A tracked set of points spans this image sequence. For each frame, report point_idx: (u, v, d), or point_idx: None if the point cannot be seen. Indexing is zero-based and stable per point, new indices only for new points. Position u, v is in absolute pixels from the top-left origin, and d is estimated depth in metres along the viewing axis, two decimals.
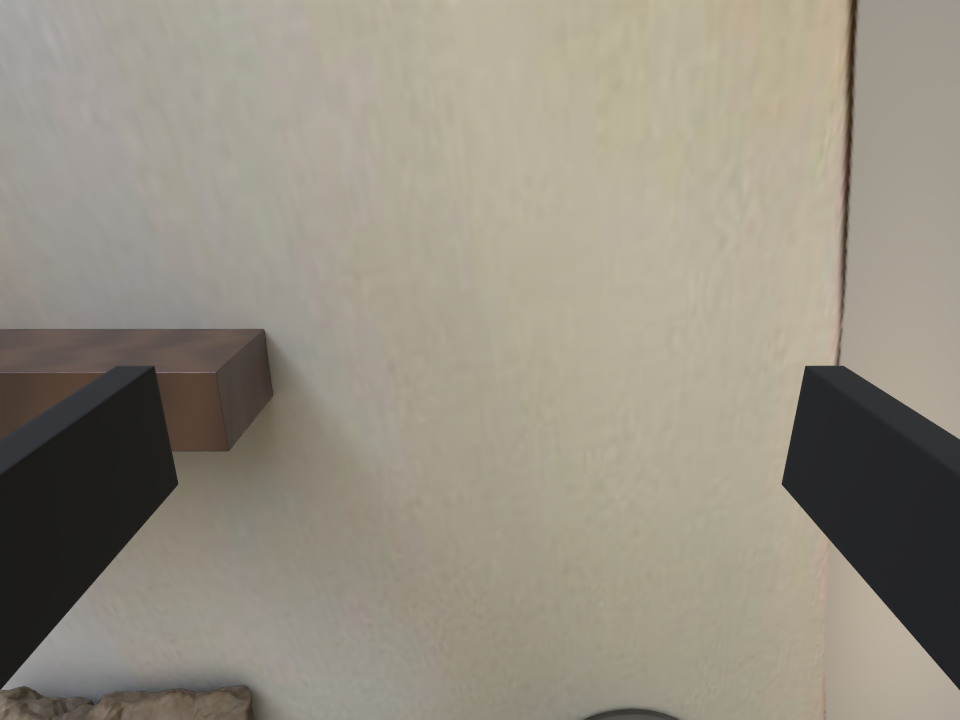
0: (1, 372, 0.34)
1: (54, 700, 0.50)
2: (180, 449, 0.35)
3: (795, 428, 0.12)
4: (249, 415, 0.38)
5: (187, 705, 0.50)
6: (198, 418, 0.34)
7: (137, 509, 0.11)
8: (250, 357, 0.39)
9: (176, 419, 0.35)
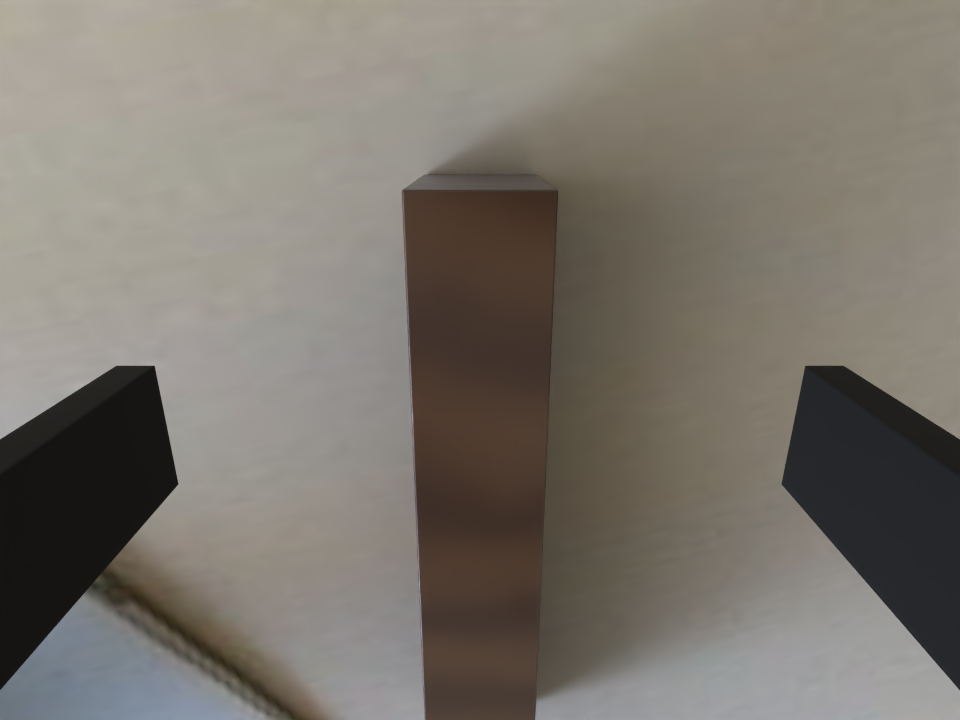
0: (416, 508, 0.23)
1: None
2: (550, 277, 0.20)
3: (795, 428, 0.12)
4: (530, 181, 0.23)
5: None
6: (491, 235, 0.20)
7: (137, 510, 0.11)
8: (441, 179, 0.24)
9: (491, 273, 0.20)
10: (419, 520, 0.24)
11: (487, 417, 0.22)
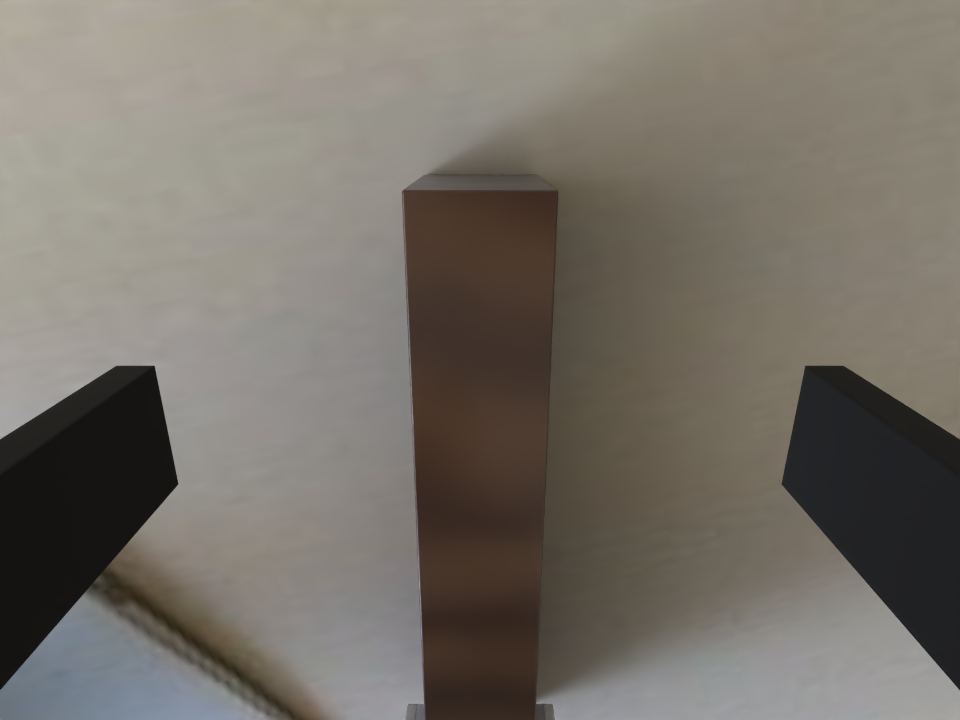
0: (416, 509, 0.23)
1: None
2: (550, 277, 0.20)
3: (795, 428, 0.12)
4: (530, 182, 0.23)
5: None
6: (491, 235, 0.20)
7: (137, 510, 0.11)
8: (441, 179, 0.24)
9: (492, 273, 0.20)
10: (419, 520, 0.24)
11: (487, 418, 0.22)
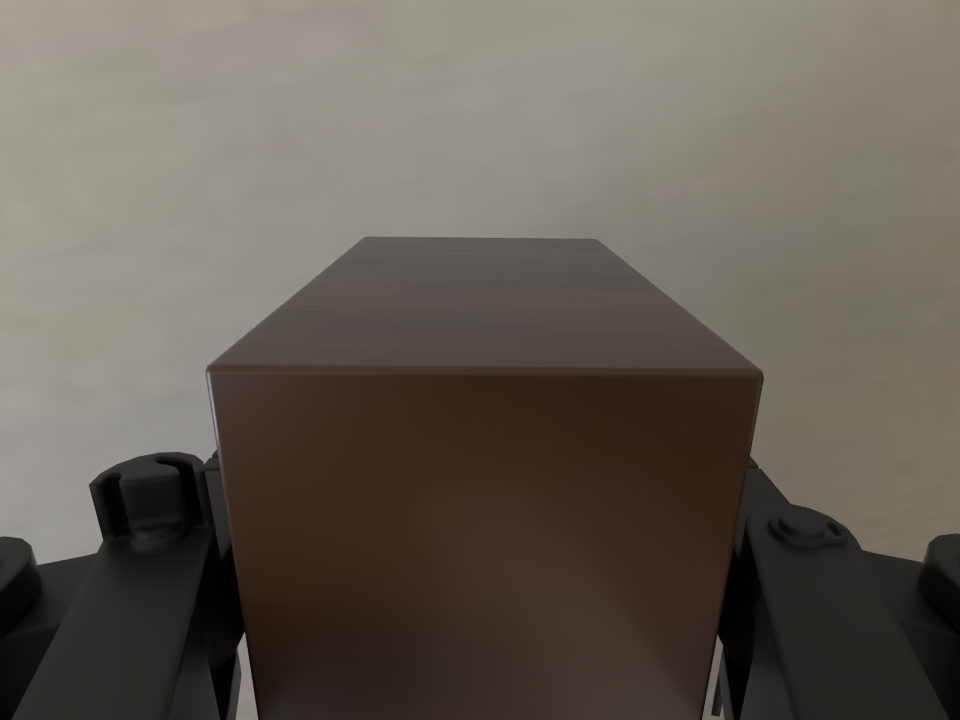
0: None
1: None
2: (707, 624, 0.06)
3: None
4: (612, 283, 0.09)
5: None
6: (522, 508, 0.06)
7: None
8: (391, 262, 0.10)
9: (521, 614, 0.06)
10: None
11: None
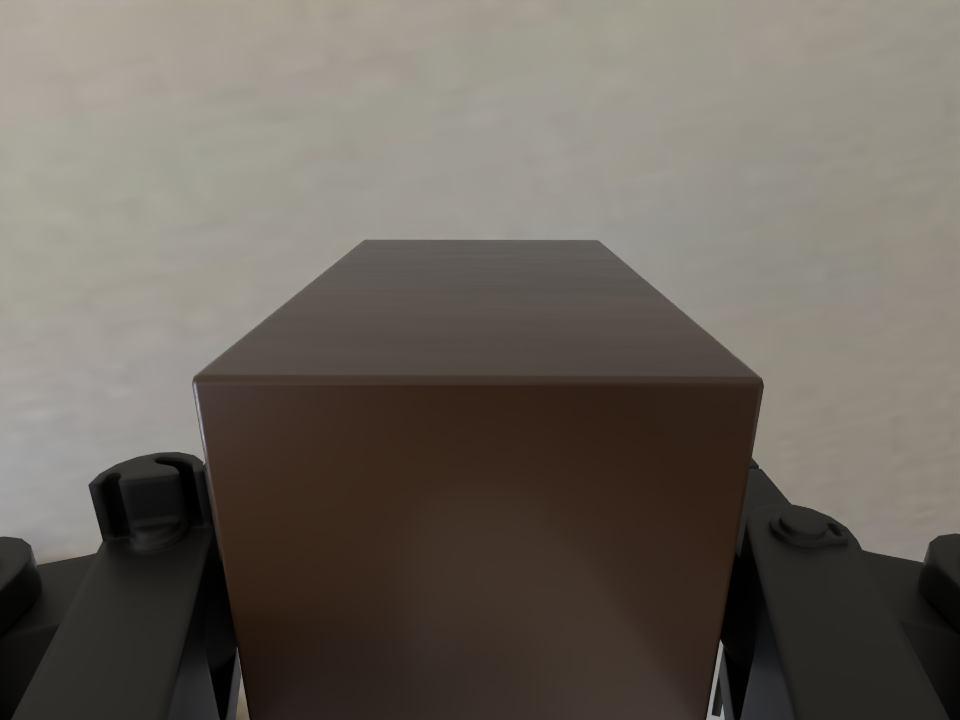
0: None
1: None
2: (708, 637, 0.06)
3: None
4: (612, 287, 0.09)
5: None
6: (517, 519, 0.06)
7: None
8: (388, 266, 0.10)
9: (516, 628, 0.06)
10: None
11: None
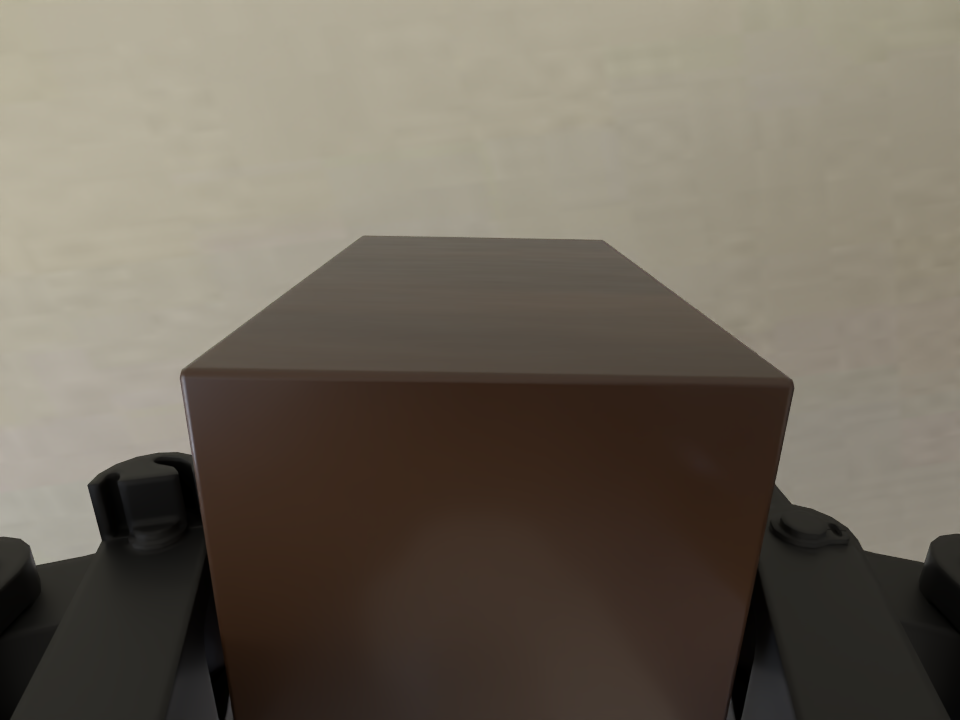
0: None
1: None
2: (727, 655, 0.06)
3: None
4: (622, 285, 0.08)
5: None
6: (527, 528, 0.05)
7: None
8: (389, 261, 0.10)
9: (524, 642, 0.06)
10: None
11: None
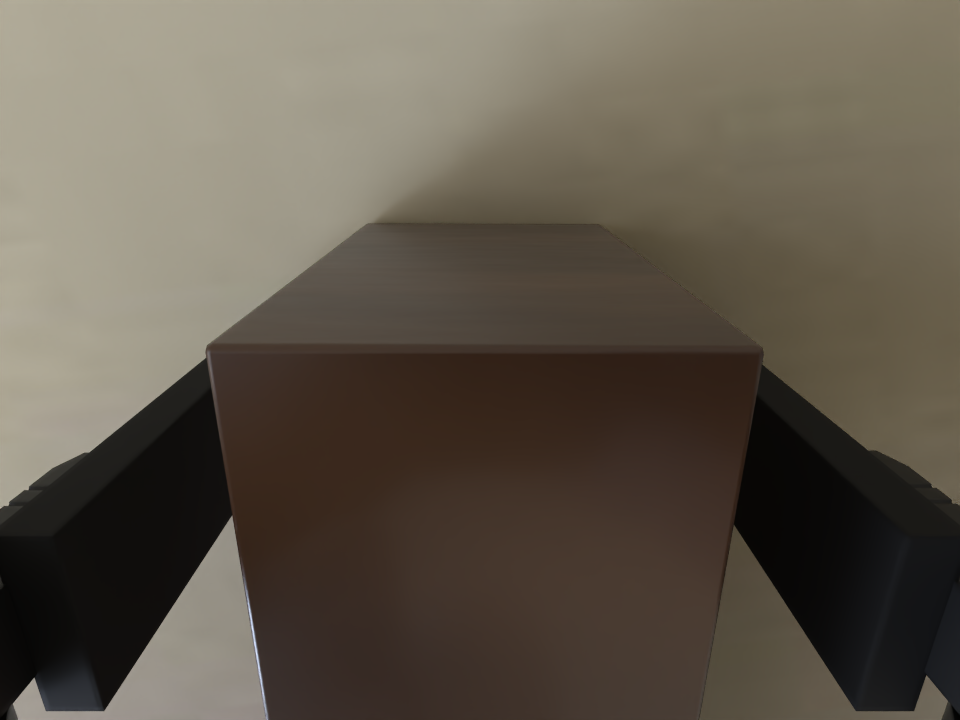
0: None
1: None
2: (708, 603, 0.06)
3: None
4: (614, 266, 0.09)
5: None
6: (522, 487, 0.06)
7: None
8: (392, 247, 0.10)
9: (522, 593, 0.06)
10: None
11: None
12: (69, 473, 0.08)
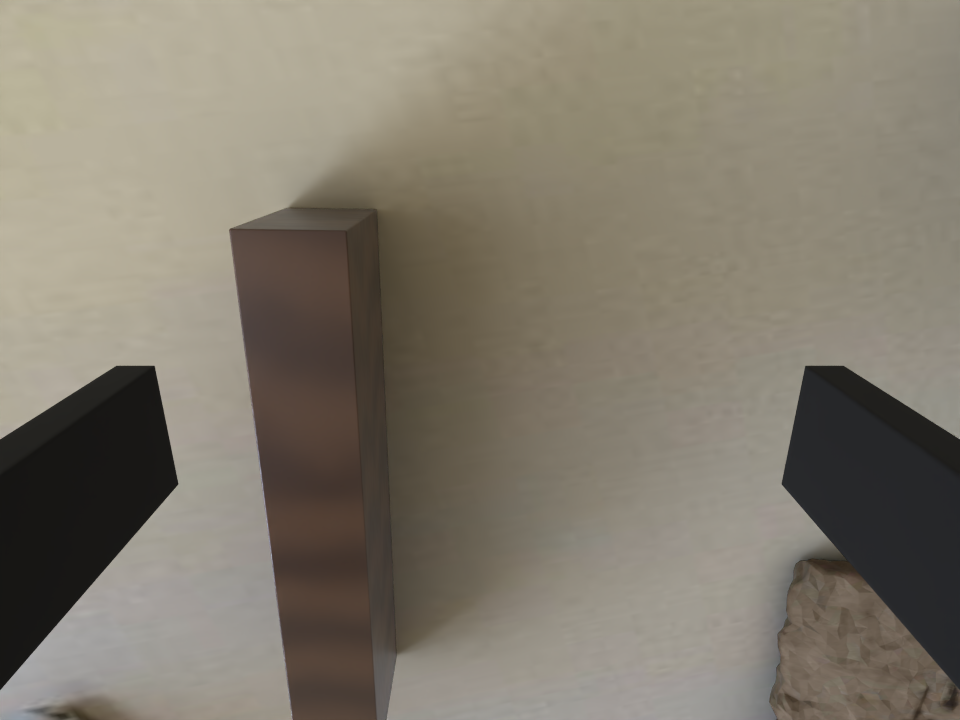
0: None
1: None
2: (347, 295, 0.27)
3: (795, 428, 0.12)
4: (348, 219, 0.29)
5: (797, 632, 0.40)
6: (299, 263, 0.26)
7: (137, 510, 0.11)
8: (287, 214, 0.30)
9: (302, 292, 0.27)
10: (264, 483, 0.30)
11: (309, 402, 0.28)
12: None
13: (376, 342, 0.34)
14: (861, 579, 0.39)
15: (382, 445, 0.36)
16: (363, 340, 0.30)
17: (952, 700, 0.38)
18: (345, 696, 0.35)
